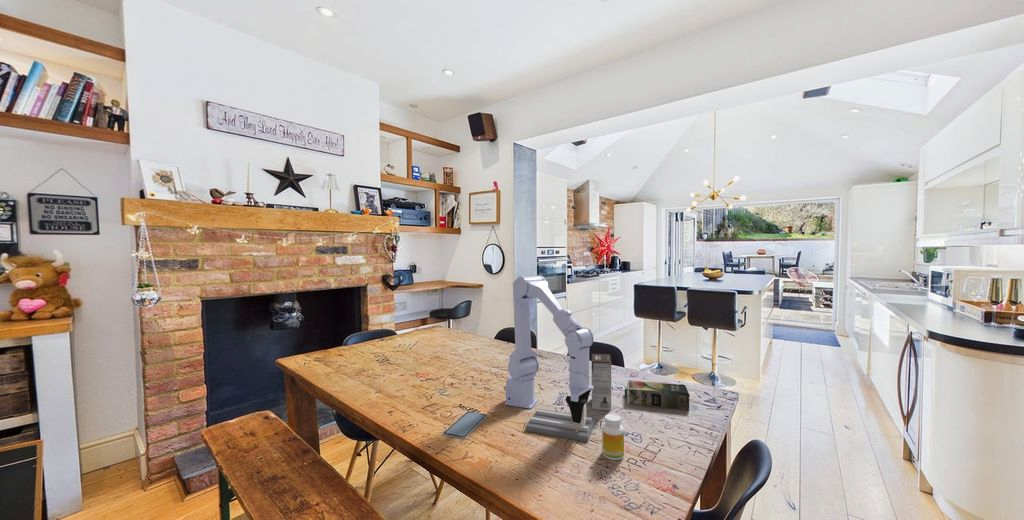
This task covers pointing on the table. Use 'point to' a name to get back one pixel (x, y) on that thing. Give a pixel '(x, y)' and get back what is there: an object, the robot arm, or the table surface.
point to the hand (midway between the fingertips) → (579, 416)
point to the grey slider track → (559, 425)
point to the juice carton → (657, 395)
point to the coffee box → (601, 381)
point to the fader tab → (582, 417)
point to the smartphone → (465, 425)
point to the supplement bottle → (613, 437)
